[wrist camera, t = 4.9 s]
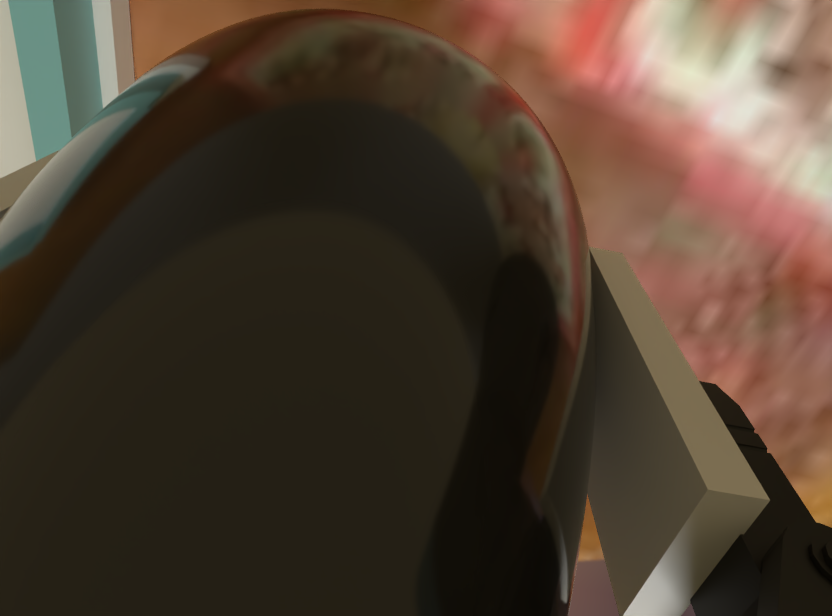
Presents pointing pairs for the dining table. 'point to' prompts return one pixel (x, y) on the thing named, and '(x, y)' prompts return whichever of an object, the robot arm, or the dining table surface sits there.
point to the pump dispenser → (298, 340)
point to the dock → (58, 71)
